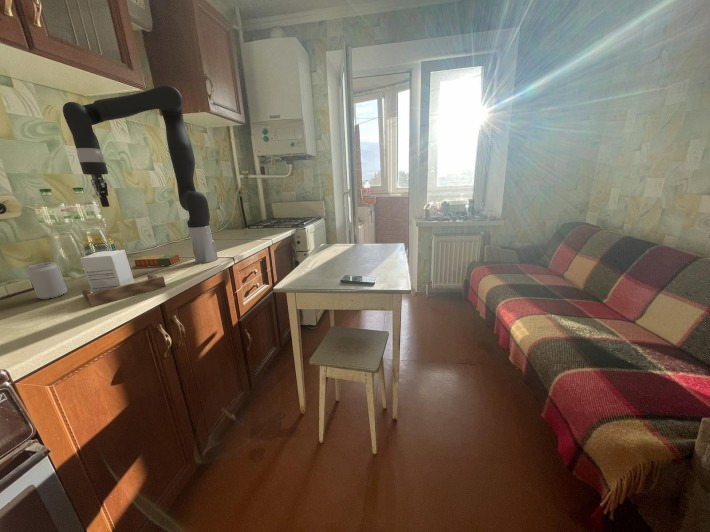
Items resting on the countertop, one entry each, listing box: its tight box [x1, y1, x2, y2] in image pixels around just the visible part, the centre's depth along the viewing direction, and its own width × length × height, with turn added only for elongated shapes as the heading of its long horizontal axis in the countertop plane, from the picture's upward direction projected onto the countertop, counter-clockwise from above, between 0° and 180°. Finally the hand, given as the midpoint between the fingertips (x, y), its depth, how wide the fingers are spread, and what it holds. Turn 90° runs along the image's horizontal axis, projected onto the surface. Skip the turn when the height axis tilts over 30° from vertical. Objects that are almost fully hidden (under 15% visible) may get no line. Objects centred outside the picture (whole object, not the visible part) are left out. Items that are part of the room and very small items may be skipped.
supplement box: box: [80, 249, 135, 293], centre depth 97 cm, size 9×9×15 cm
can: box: [27, 261, 68, 300], centre depth 98 cm, size 8×8×12 cm
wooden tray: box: [80, 273, 167, 308], centre depth 101 cm, size 21×15×4 cm
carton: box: [134, 253, 180, 268], centre depth 135 cm, size 8×16×4 cm, turn 95°
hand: (105, 206), depth 113 cm, fingers closed
